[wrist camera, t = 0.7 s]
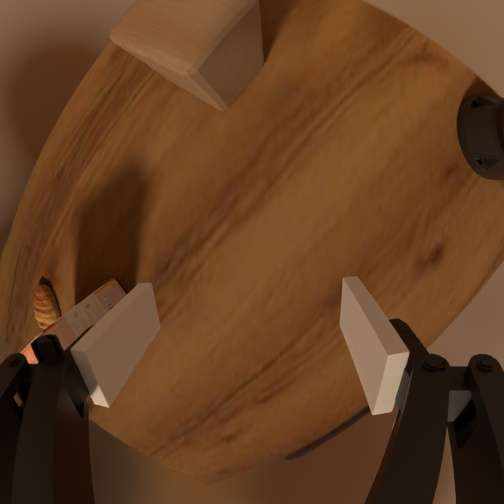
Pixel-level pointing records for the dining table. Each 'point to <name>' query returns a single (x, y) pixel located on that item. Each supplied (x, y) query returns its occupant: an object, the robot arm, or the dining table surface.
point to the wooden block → (196, 44)
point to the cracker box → (81, 316)
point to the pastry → (45, 306)
